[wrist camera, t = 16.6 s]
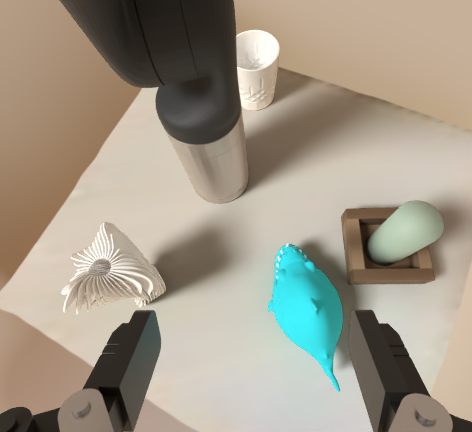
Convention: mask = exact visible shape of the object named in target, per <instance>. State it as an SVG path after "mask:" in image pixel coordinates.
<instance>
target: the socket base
mask: <svg viewBox="0 0 472 432" xmlns="http://www.w3.org/2000/svg"><path fill="white" fill-rule="evenodd" d="M397 209H398V208H361V209H346V210H345V212H344V213H343V215H342V216H341V222H342V231H343V240H344V249H345V259H346V268H347V277H348V284H424V283H427V282H430V281H434V280H435V278H434V273H433V268H432V263H431V257H430V252H429V247H428V245H427V246H426V247H424V248H422V249H420V250H418V251H416V252H415V253H413V254H411V255H409V256H407V257H406V258H404V259H402V260H400V261H398V262H397V263H395V264H393V265H391V266H379V265H376V264H374V263H373V262H371V261H370V260H369V259H368V257H367V256H366V254H365V250H364V244H365V241H366V239H367V238H368V237H369V236H370V235H371V234H372V233H373V232H374V231H375V230H376V229H377V228H378V227H379V226H380V225H381V224H382V223H384V222H385V221H386V220H387V219H388V218H389V217H390V216H391V215H392V214H393V213H394V212H395V211H396V210H397Z"/></svg>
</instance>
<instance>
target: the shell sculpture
mask: <svg viewBox="0 0 472 432" xmlns="http://www.w3.org/2000/svg"><path fill="white" fill-rule="evenodd" d="M71 258H72V259H74V264H75V266H81V268H80V269H79V270H77V271H81V272H79V273H77V274H76V276H75V277H73V278H72V279H71V280H70V281H71V282H70V283H69V284H68V285H67V286H66V287H65V288H64V289H63V291H62V294H63V295H65V294H67V293H68V295H67V297H66V300H65V304H64V309H63V312H67V310H68V309H69V308H70V307H71V305H72V304H73V303H74V302H75V301H76V300H77V303H76V314H77V315H78V313H79V312H80V310H81V308H82V307H83V305H84V304H85V303H86V302H87V309H88V312H89V311H90V309H91V308H92V307H93V306H94V305H95V304H96V303H97V305H98V307H101V306H103V305H105V304H106V303H108V302H114V301H117V300H119V299H124V298H133V299H135V302H136V300H138V302H137V305H138V303H139V301H141V303H140V305H139V307H141V305H142V302H143V301H144V306H145V304H146V300H147V303H149V298H150V301H152V299H153V300H154V299H155V298H157V297H158V296H160V295H161V294H163V293H164V291H166V287H165V283H164V281H163V279H162V277H161V276H160V274H159V272H158V270H157V269H156V267H155V266H153V265H152V264H151V263H149V261H148V260H147V259H146V258H145V257H144V256H143V254H142V253H141V252H140V251H139V249H138V248H137V247H136V246H135V245H134V244H133V243H132V242H131V240H130V239H129V238H128V237H127V236H126V235H125V234H124V233H122V232H121V231H120V230H119V229H118V228H117V227H116V226H115V225H113V224H111V223H108V222H104V223H103V224H102V225H101V227H100V231H99V232H98V236H97V237H96V238H95V241H94V242H93V243H92V244H91V245H90V246H89V247H88V248H85V250H82V251H78V253H75V254H72V255H71ZM96 265H101V266H96ZM92 266H93V267H92ZM102 266H105V267H102ZM97 267H101V268H97ZM106 267H108V268H106ZM103 268H105V269H103ZM107 269H109V270H107ZM107 271H108V272H107ZM120 288H121V289H120ZM92 291H93V292H92ZM130 291H131V292H130ZM85 293H86V295H84V294H85ZM100 295H102V297H100ZM148 295H149V296H148ZM94 296H95V299H96V300H94V301H93V302H92V303H91V298H92V297H94ZM102 300H105V302H101V301H102Z"/></svg>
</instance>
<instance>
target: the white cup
mask: <svg viewBox="0 0 472 432" xmlns="http://www.w3.org/2000/svg"><path fill="white" fill-rule="evenodd" d="M236 48H237V73H238V84H239V92H240V99H241V106H242V107H243V108H245V109H247V110H256V111H257V110H260V109H263V108H266V107H267V106H268V105H269V104H270V103H271V102H272V100H273V97H274V92H275V85H276V78H277V70H278V60H279V51H280V48H279V44H278V41H277V40H276V38H275V37H274V36H272V35H271V34H269V33H267V32H265V31H261V30H249V31H245V32H242V33H240V34H238V35H236Z"/></svg>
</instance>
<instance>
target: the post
mask: <svg viewBox="0 0 472 432" xmlns="http://www.w3.org/2000/svg"><path fill="white" fill-rule="evenodd" d="M443 230H444V221H443V218H442V216H441V214H440V212H439V211H438V210H437V209H436V208H435V207H434V206H432V205H431V204H429V203H426V202H423V201H409V202H406V203H404V204H403V205H401V206H400V207H399V208H398V209H397V210H396V211H395V212H394V213H393V214H392V215H391V216H390V217H389V218H388V219H387V220H386V221H385V222H384V223H382V224H381V225H380V226H379V227H378V228H377V229H376V230H375V231H374V232H373V233H372V234H371V235H370V236H369V237H368V238H367V239H366V241H365V244H364V250H365V254H366V256H367V257H368V259H369V260H370V261H371V262H373V263H374V264H376V265H379V266H391V265H393V264H395V263H397V262H398V261H400V260H402V259H404V258H406V257H407V256H409V255H411V254H413V253H415V252H416V251H418V250H420V249H422V248H424V247H426V246H427V245H429V244H431V243H433V242H435V241H436V240H438V239H439V238H440V236H441V235H442V233H443Z"/></svg>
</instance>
